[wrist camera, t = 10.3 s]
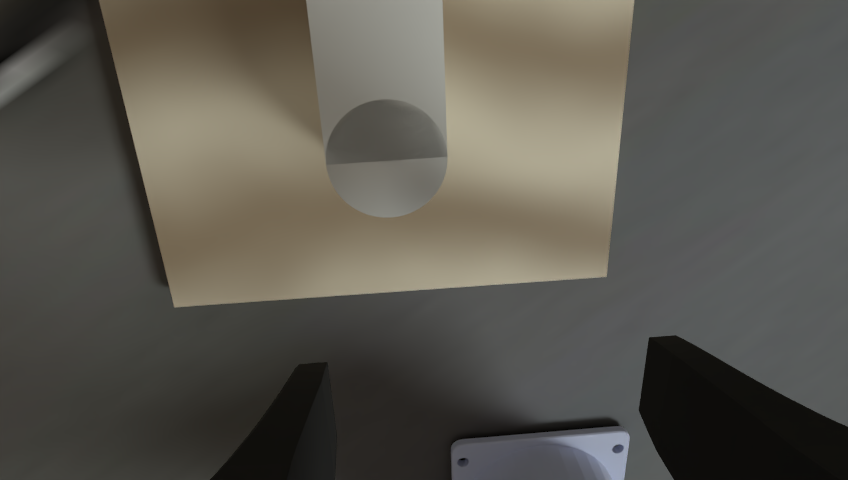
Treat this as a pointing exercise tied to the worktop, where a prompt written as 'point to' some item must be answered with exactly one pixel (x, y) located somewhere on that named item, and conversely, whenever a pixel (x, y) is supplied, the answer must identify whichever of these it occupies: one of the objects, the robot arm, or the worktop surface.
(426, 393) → the worktop surface
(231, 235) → the wood pad
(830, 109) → the worktop surface
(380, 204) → the usb connector
